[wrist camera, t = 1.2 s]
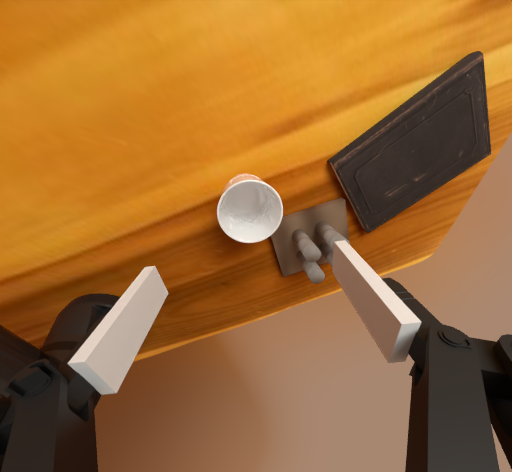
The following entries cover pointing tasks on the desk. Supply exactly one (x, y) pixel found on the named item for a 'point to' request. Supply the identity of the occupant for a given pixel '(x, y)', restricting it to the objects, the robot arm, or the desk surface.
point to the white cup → (249, 209)
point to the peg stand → (310, 238)
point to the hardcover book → (417, 145)
